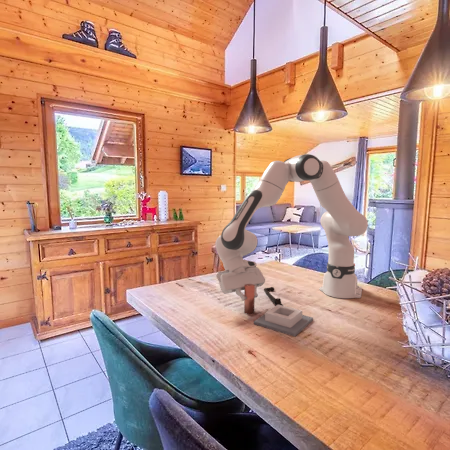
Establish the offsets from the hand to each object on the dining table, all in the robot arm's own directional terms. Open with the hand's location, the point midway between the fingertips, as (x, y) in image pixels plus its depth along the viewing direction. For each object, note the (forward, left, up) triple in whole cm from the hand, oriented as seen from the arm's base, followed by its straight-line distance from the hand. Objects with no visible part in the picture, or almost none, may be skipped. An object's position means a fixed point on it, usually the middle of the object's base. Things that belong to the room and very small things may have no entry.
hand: (250, 298), depth 119 cm
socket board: (0, +14, -6) cm, 16 cm away
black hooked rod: (-17, +2, -6) cm, 19 cm away
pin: (0, -1, -6) cm, 6 cm away
